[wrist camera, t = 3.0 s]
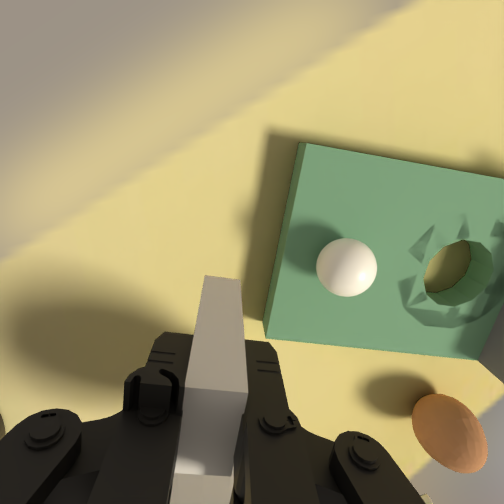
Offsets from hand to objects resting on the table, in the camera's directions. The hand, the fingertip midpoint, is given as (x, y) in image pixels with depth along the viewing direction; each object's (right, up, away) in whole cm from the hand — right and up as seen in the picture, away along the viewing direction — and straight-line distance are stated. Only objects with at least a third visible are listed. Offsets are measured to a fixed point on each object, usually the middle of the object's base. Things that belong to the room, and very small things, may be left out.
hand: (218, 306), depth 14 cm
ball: (+8, +1, +9) cm, 12 cm away
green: (+13, +2, +14) cm, 19 cm away
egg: (+19, -13, +19) cm, 30 cm away
